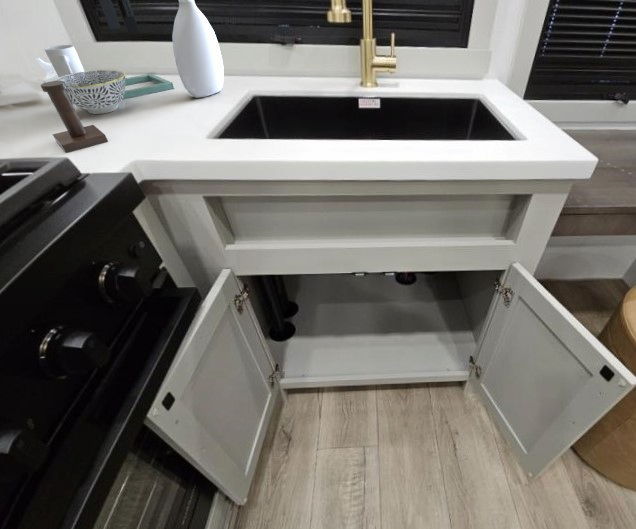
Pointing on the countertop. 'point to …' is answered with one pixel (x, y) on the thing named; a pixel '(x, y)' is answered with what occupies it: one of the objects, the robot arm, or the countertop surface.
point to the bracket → (48, 70)
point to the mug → (64, 59)
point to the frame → (160, 86)
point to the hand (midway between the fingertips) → (124, 31)
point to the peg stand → (71, 120)
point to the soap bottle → (196, 51)
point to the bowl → (95, 89)
